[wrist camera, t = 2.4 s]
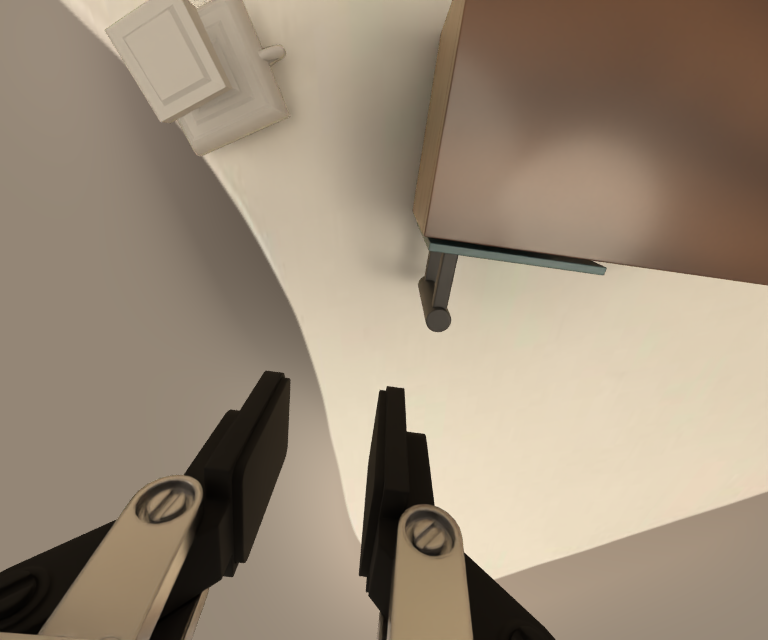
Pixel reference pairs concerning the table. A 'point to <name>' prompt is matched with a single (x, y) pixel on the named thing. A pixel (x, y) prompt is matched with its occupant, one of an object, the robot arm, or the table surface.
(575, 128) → the cupboard
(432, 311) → the sliding door
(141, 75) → the stamp
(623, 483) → the table surface
